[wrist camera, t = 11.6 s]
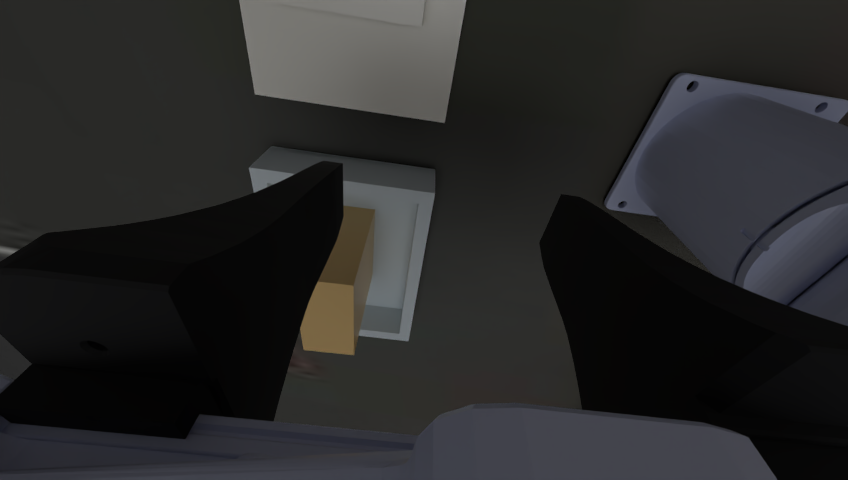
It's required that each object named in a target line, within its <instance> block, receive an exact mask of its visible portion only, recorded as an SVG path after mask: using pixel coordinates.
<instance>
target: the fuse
mask: <svg viewBox="0 0 848 480" xmlns="http://www.w3.org/2000/svg"><path fill="white" fill-rule="evenodd" d="M343 207H344V217H343V221H342V224H341V228H340V231H339V235H338V238H337V241H336V243H335V245H334V248H333V250H332V252H331V254H330V256H329V259H328V261H327V263H326V265H325V267H324V269H323V272H322V274H321V276H320V278H319V280H318V282H317V284H316V287H315V289H314V291H313V293H312V296H311V298H310V301H309V303H308V306H307V309H306V312H305V315H304V318H303V321H302V324H301V327H300V330H301V336H302V342H303V348H304V350H310V351H319V352H329V353H339V354H348V355H354V353H355V349H356V344H357V340H358V335H359V331H360V327H361V322H362V318H363V314H364V309H365V305H366V301H367V296H368V292H369V288H370V283H371V279H372V274H373V250H374V226H375V209H367V208H359V207H351V206H343Z"/></svg>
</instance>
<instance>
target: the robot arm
mask: <svg viewBox="0 0 848 480" xmlns="http://www.w3.org/2000/svg"><path fill="white" fill-rule="evenodd" d="M692 81H694V84H693V86H692V87H691V88H690V89H688V90H687V86H688V85H689V83H691V82H692ZM819 104H820V106H819V107H818V108H817V109H816V107H817V106H818V105H819ZM847 112H848V100H844V99H840V98H834V97H828V96H822V95H816V94H810V93H804V92H798V91H792V90H786V89H780V88H774V87H768V86H762V85H756V84H750V83H744V82H738V81H732V80H726V79H720V78H714V77H708V76H702V75H696V74H690V73H680V74H677V75H676V76H675V77H673V78H672V80H671V81H670V83H669V84H668V86H667V88H666V90H665V92H664V93H663V95H662V97H661V99H660V101H659V103H658V104H657V106H656V108H655V110H654V112H653V113H652V115H651V117H650V119H649V121H648V123H647V124H646V126H645V128H644V130H643V132H642V133H641V135H640V137H639V139H638V141H637V143H636V144H635V146H634V148H633V150H632V152H631V153H630V155H629V157H628V159H627V161H626V163H625V164H624V166H623V168H622V170H621V172H620V173H619V175H618V177H617V179H616V181H615V183H614V184H613V186H612V188H611V190H610V192H609V193H608V195H607V197H606V199H605V201H604V204H605V206H606V207H607V208H608V209H610V210H615V211H623V212H630V213H637V214H644V215H651V216H658V217H659V218H660V219H661V220H662V222H663V223H664V224H665V225H666V226H667V227H668V228H669V229H670V230H671V231H672V232H673V233H674V234H675V235H676V236H677V237H678V238H679V239H680V240H681V241H682V243H683V244H684V245H685V246H686V247H687V248H688V249H689V250H690V251H691V252H692V253H693V254H694V255H695V256H696V257H697V258H698V259H699V260H700V261H701V262H702V264H703V265H704V266H705V267H706V268H707V269H708V270H709V271H710V272H711V273H712V274H713V275H712V274H710V273H708V272H706V271H704V270H702V269H700V268H698V267H696V266H694V265H692V264H690V263H688V262H686V261H684V260H682V259H681V258H679V257H677V256H675V255H673V254H671V253H670V252H668V251H666V250H664V249H663V248H661V247H659V246H658V245H656V244H654V243H653V242H651V241H649V240H648V239H646V238H644V237H643V236H641V235H640V234H638V233H637V232H635V231H633V230H632V229H630V228H629V227H627V226H626V225H624V224H623V223H621V222H620V221H618V220H617V219H615V218H614V217H612V216H611V215H609V214H608V213H606V212H605V211H603V210H602V209H600V208H599V207H597V206H595V205H594V204H592V203H590V202H589V201H587V200H585V199H583V198H581V197H576V196H569V195H562V194H561V196H560V198H559V200H558V203H557V205H556V207H555V209H554V212H553V214H552V216H551V218H550V220H549V223H548V225H547V227H546V229H545V232H544V234H543V236H542V238H541V240H540V249H541V255H542V260H543V265H544V269H545V272H546V275H547V278H548V281H549V284H550V286H551V289H552V292H553V295H554V297H555V300H556V303H557V306H558V308H559V311H560V314H561V317H562V319H563V322H564V325H565V329H566V332H567V335H568V340H569V344H570V348H571V353H572V357H573V361H574V366H575V371H576V377H577V382H578V387H579V392H580V398H581V405H582V410H580V409H570V408H561V407H551V406H542V405H532V404H523V403H491V404H472V405H469V406H466V407H463V408H459V409H456V410H453V411H450V412H446V413H443V414H440V415H439V416H438V417H437V418H436V419H435V420H434V421H433V422H432V423H431V424H430V425H429V426H428V427H427V428H426V429H425V430H424V431H423V432H422V433H421V434H420V435H419V436H418V435H407V434H397V433H387V432H377V431H366V430H356V429H346V428H335V427H325V426H315V425H305V424H294V423H284V422H274V417H275V413H276V410H277V406H278V402H279V398H280V394H281V391H282V387H283V384H284V380H285V377H286V373H287V370H288V366H289V363H290V359H291V356H292V353H293V350H294V347H295V343H296V340H297V337H298V334H299V330H300V327H301V324H302V321H303V318H304V315H305V312H306V309H307V306H308V303H309V301H310V298H311V296H312V293H313V291H314V289H315V287H316V284H317V282H318V280H319V278H320V276H321V274H322V272H323V269H324V267H325V265H326V263H327V261H328V259H329V256H330V254H331V252H332V250H333V248H334V245H335V243H336V241H337V238H338V235H339V231H340V228H341V224H342V221H343V217H344V207H343V163H337V162H330V161H321V162H319V163H316V164H314V165H312V166H310V167H308V168H306V169H304V170H302V171H300V172H298V173H296V174H294V175H292V176H290V177H288V178H286V179H284V180H282V181H280V182H278V183H275V184H273V185H271V186H269V187H266V188H264V189H262V190H259V191H257V192H255V193H252V194H250V195H247V196H244V197H241V198H239V199H236V200H232V201H229V202H226V203H223V204H220V205H216V206H213V207H209V208H205V209H201V210H197V211H193V212H189V213H185V214H181V215H176V216H171V217H166V218H161V219H155V220H150V221H143V222H137V223H131V224H124V225H117V226H109V227H100V228H91V229H81V230H72V231H63V232H51V233H46V234H44V235H42V236H40V237H39V238H37V239H36V240H34V241H33V242H31V243H29V244H28V245H26V246H25V247H23V248H21V249H20V250H18V251H17V252H15V253H13V254H12V255H10V256H9V257H7V258H5V259H4V260H2V261H1V262H0V334H1V335H2V336H3V337H4V338H5V339H6V340H7V341H8V342H9V343H10V344H11V345H13V346H14V347H15V348H16V349H17V350H18V351H19V352H20V353H21V354H22V355H23V356H24V357H25V358H26V359H27V360H28V361H29V362H31V363H33V364H32V365H31V366H29V367H28V368H27V369H26V370H25V371H24V372H23V373H22V374H21V375H20V376H19V377H18V378H17V379H15V380H14V379H12V378H10V377H7V376H4V375H2V374H0V480H848V126H845V125H843V124H840V123H838V122H839V121H840V120H841V118H842V117H843V116H844V115H845V114H846V113H847ZM622 201H624V202H623V203H622V204H621V205H618V204H619V203H620V202H622Z"/></svg>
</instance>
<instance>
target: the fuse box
mask: <svg viewBox="0 0 848 480" xmlns="http://www.w3.org/2000/svg"><path fill="white" fill-rule="evenodd" d="M239 2H240V8H241V14H242V20H243V26H244V32H245V38H246V44H247V50H248V56H249V62H250V68H251V74H252V80H253V86H254V92H255V94H256V95H263V96H269V97H276V98H282V99H289V100H296V101H302V102H309V103H315V104H322V105H329V106H335V107H342V108H348V109H355V110H362V111H368V112H375V113H382V114H388V115H395V116H401V117H408V118H415V119H421V120H428V121H434V122H441V123H445V119H446V113H447V107H448V102H449V96H450V90H451V84H452V79H453V73H454V67H455V62H456V56H457V50H458V44H459V39H460V33H461V27H462V22H463V16H464V10H465V4H466V0H239Z"/></svg>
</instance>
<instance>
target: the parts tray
mask: <svg viewBox="0 0 848 480" xmlns="http://www.w3.org/2000/svg"><path fill="white" fill-rule="evenodd" d="M321 161H330V162H337V163H343V206H351V207H359V208H367V209H375V226H374V250H373V274H372V279H371V283H370V288H369V292H368V296H367V301H366V305H365V309H364V314H363V318H362V322H361V327H360V331H359V335H358V336H367V337H376V338H385V339H394V340H403V341H408V340H409V335H410V329H411V324H412V318H413V313H414V307H415V302H416V296H417V290H418V285H419V279H420V274H421V268H422V263H423V257H424V252H425V246H426V241H427V235H428V230H429V224H430V219H431V213H432V207H433V202H434V196H435V169H430V168H423V167H416V166H409V165H402V164H395V163H388V162H381V161H374V160H367V159H360V158H353V157H346V156H339V155H332V154H325V153H318V152H311V151H304V150H297V149H290V148H283V147H276V146H271V147H270V148H269V149H268V150H267V151H266V152H265V153H264V154H263V155H261V156H260V157H259V158H258V159H257V160H256V161H255V162H254V163H253V164H252V165H251V166H250V167H249V170H250V175H251V180H252V185H253V190H254V193H255V192H257V191H259V190H262V189H264V188H266V187H269V186H271V185H273V184H275V183H278V182H280V181H282V180H284V179H286V178H288V177H290V176H292V175H294V174H296V173H298V172H300V171H302V170H304V169H306V168H308V167H310V166H312V165H314V164H316V163H319V162H321Z"/></svg>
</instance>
